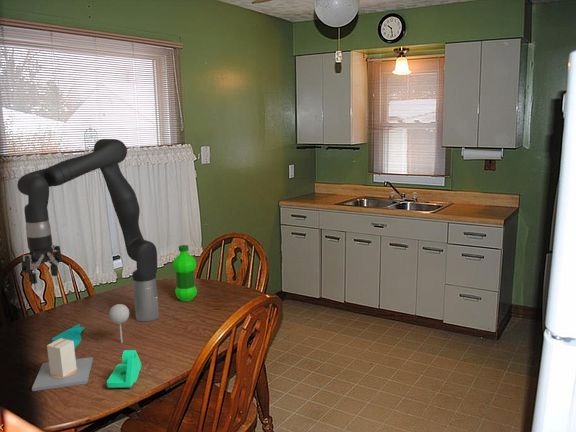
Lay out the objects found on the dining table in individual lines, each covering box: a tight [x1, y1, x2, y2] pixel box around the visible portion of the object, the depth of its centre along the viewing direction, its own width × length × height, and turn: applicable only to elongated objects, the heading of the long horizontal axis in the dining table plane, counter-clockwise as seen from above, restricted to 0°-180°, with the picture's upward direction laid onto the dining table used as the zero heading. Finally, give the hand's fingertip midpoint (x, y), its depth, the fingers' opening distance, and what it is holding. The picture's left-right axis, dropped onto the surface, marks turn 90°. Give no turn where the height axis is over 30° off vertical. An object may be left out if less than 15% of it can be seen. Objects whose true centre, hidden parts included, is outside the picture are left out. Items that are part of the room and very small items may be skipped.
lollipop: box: [108, 303, 130, 344], centre depth 187 cm, size 7×7×15 cm
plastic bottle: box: [172, 244, 198, 302], centre depth 227 cm, size 10×10×25 cm
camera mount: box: [106, 349, 142, 389], centre depth 162 cm, size 12×8×10 cm, turn 0°
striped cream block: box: [46, 338, 77, 377], centre depth 165 cm, size 6×6×10 cm
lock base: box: [31, 356, 94, 392], centre depth 166 cm, size 16×16×6 cm
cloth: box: [50, 323, 86, 350], centre depth 192 cm, size 26×14×2 cm, turn 179°
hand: (44, 279), depth 174 cm, fingers open, 8 cm apart
